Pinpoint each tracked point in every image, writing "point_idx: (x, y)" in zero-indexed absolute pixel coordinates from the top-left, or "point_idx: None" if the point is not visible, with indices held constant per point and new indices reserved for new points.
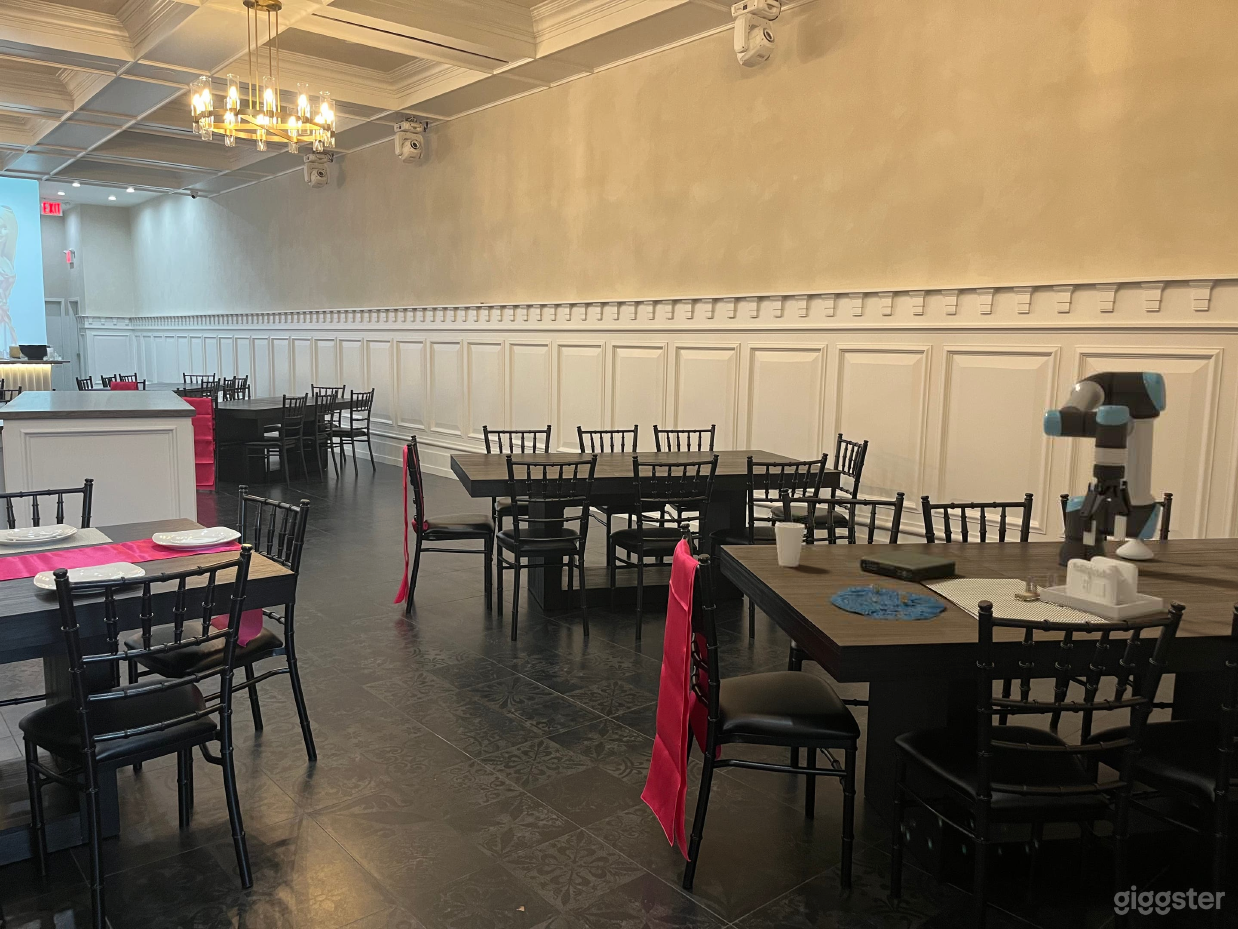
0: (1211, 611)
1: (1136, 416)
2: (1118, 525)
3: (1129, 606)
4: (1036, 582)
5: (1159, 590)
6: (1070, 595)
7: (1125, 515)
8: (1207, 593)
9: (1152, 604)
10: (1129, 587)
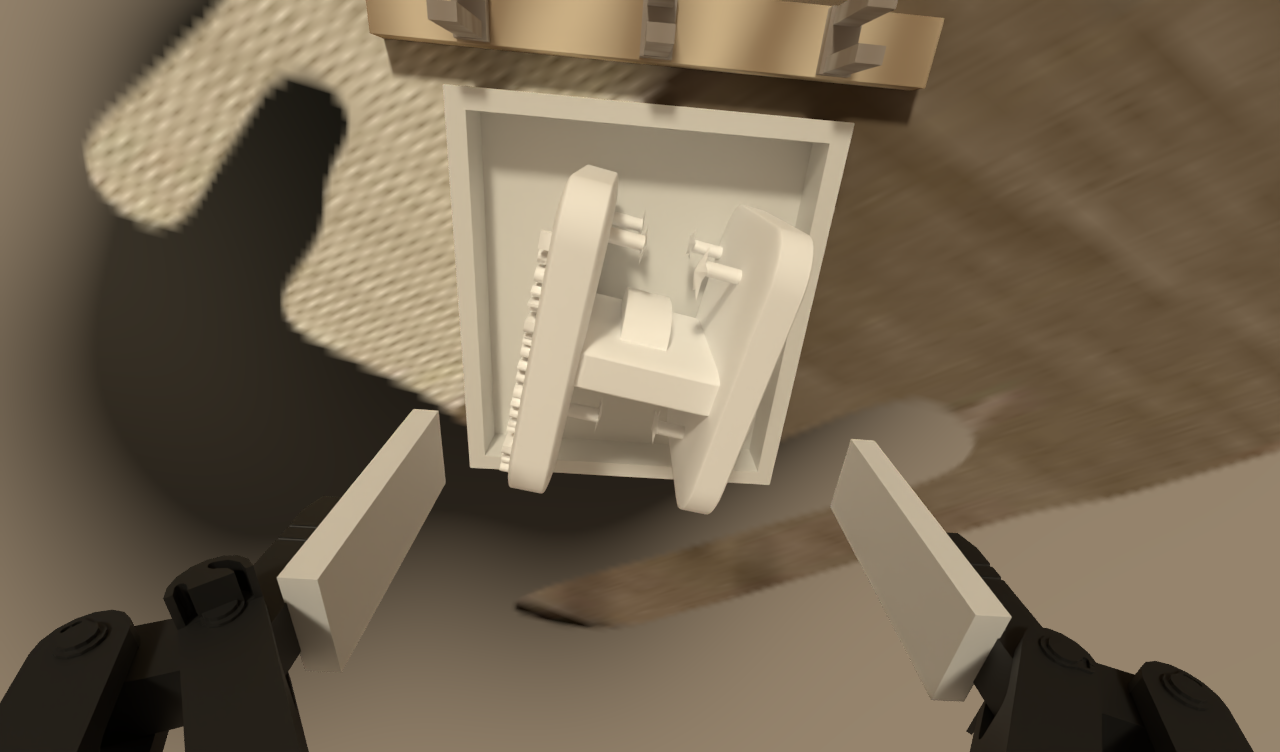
0: None
1: None
2: (899, 559)
3: None
4: (454, 27)
5: (1171, 288)
6: (468, 263)
7: (982, 706)
8: (1228, 414)
9: None
10: (671, 440)
